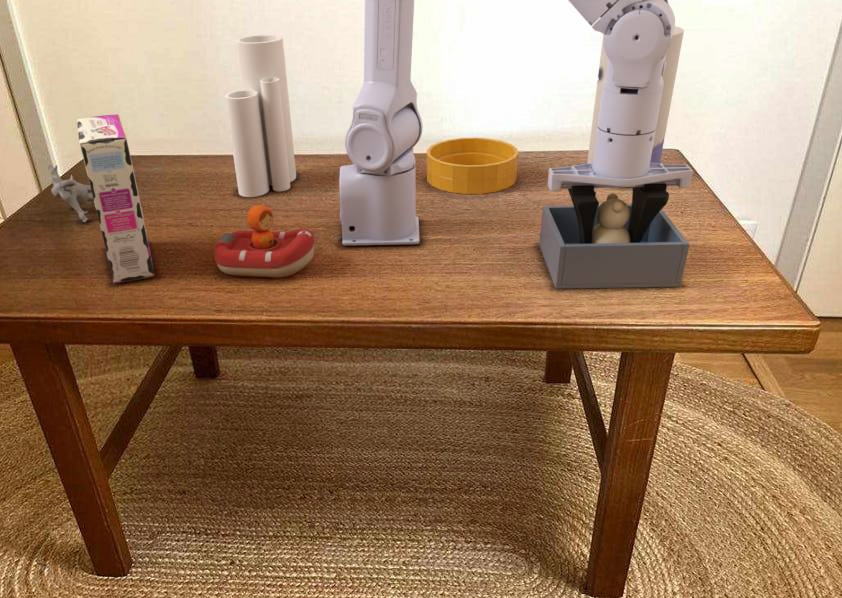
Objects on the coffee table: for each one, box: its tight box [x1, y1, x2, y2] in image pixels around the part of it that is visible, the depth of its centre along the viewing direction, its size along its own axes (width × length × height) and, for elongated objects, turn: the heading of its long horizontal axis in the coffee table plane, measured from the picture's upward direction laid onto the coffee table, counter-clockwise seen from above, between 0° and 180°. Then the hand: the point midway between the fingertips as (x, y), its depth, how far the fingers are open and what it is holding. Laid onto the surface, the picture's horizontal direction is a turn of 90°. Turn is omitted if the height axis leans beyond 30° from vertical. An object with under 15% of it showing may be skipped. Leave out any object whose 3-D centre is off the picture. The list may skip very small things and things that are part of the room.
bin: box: [538, 203, 691, 290], centre depth 81 cm, size 13×11×5 cm
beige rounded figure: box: [592, 192, 631, 244], centre depth 80 cm, size 5×5×8 cm
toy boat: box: [214, 204, 315, 279], centre depth 83 cm, size 8×12×8 cm, turn 81°
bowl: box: [426, 137, 520, 195], centre depth 105 cm, size 13×13×4 cm
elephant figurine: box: [47, 163, 94, 223], centre depth 102 cm, size 10×6×9 cm
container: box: [586, 25, 685, 164], centre depth 101 cm, size 10×10×20 cm
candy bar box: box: [76, 114, 156, 284], centre depth 84 cm, size 11×5×16 cm, turn 21°
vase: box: [224, 34, 297, 198], centre depth 104 cm, size 11×7×20 cm, turn 166°
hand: (608, 248), depth 81 cm, fingers closed on beige rounded figure, 4 cm apart
